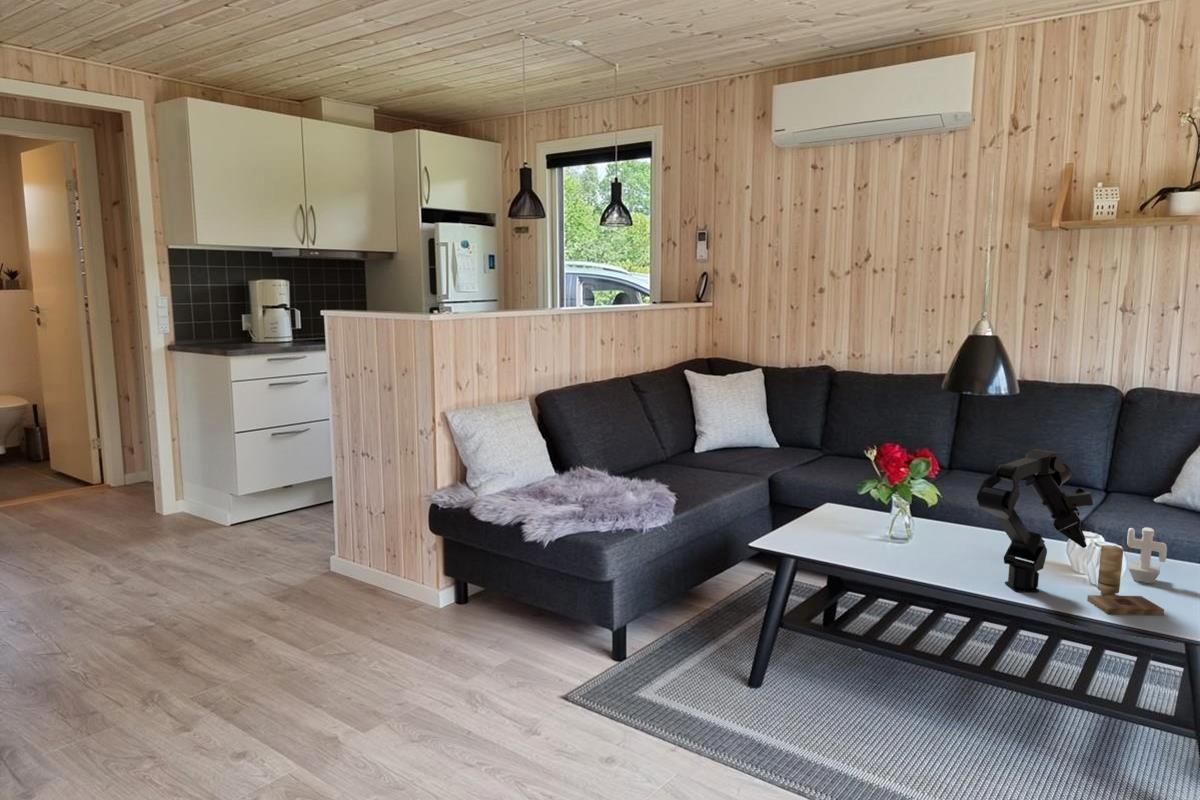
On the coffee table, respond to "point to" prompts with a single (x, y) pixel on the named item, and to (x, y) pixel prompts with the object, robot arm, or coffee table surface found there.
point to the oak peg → (1110, 570)
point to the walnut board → (1125, 605)
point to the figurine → (1145, 555)
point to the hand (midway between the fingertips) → (1084, 543)
